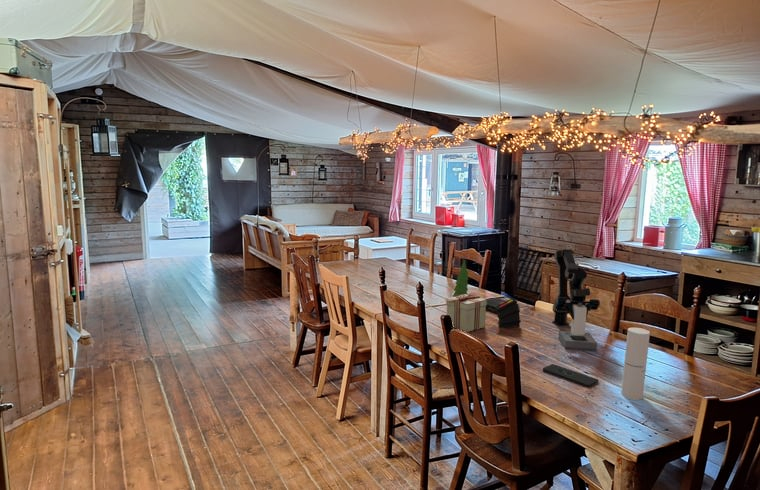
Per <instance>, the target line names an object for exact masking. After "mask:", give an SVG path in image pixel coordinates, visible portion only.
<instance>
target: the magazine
mask: <svg viewBox="0 0 760 490" xmlns="http://www.w3.org/2000/svg"><path fill="white" fill-rule="evenodd" d="M517 304H518V301H517V300H516V298H514V297H512V298H509V299H508V300H506V302H504V303H502V304H500V305H498V306H497V307H495V308H496V309H495V311H497V313H498V314H497V318H498V321H497V324H498V327H499V328H501V329H507V328H520V327H521V325H520V323H521V322H522V320H521V319H520V317H521V315H520V312H521V310H520V308H519V309H518V305H517Z"/></svg>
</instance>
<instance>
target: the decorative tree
mask: <svg viewBox="0 0 760 490" xmlns="http://www.w3.org/2000/svg"><path fill="white" fill-rule="evenodd" d="M468 281H469V273H468V269H467V264H466V259H464V260H463V262H462V265H461V268H460V270H459V272H458V275H457V279H456V281H455V283H454V284H455V287H454V289H453V291H454V293H453V295H452V297H455V296H458V295H464V294H466V295H469V294H468V290H469V288H468V286H469V284H468Z"/></svg>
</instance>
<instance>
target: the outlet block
mask: <svg viewBox="0 0 760 490" xmlns="http://www.w3.org/2000/svg"><path fill="white" fill-rule="evenodd" d="M558 340H559V342H560V344H561V345H562V347H563V348H564V349H563V350H570V351H571V350H572V351H588V352H597V349H598V342H597V341H596V339H595V338H594V337H593V336H592V335H591V334H590V332H585V334H584V335H573V334H572V332H571V331H564V330H559V331H558Z"/></svg>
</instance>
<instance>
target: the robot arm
mask: <svg viewBox="0 0 760 490" xmlns="http://www.w3.org/2000/svg"><path fill="white" fill-rule="evenodd" d="M553 258H554V260H555V261H554V262H555V264H556V266H557V268H558V294H557V296H556V298H555V299H554V300H555V301H554V303H553V305H552V312H553V313H554V320H553V321H551V323H553V324H556V325H559V326H567V325H570V322H568V314H569V316H570V317H571V320H572V319H573V320H574V313H573V305H578V303H579V302H580V303H582V305H584V306H585V307H586V308H587V312H586V319H587V318H588V313H589V312H590V311H591V310H593V311H596V310H598V309H599V307H600V305H601V303H600V300H599V299H598V298H597V299H596V298H590V299H589V301H586V297H588V296H590V295H591V290H590V289H591V288H587V287H586V288H584V289H583V286H582V285H583V284H584V283H585V281H586V279H587V277H588V273H587V272H586V271H585V270H584V269H583V268H582V267H581V266H580V265H578V264H577V263H576V261H575V260H576V259H575V257H574V254H573V249H569V248H568V249H566V248H563V249H560V250H557V251H555V252H554V255H553ZM568 280H569V281H568ZM568 285H569V287H568ZM568 289H569V294H568Z"/></svg>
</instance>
